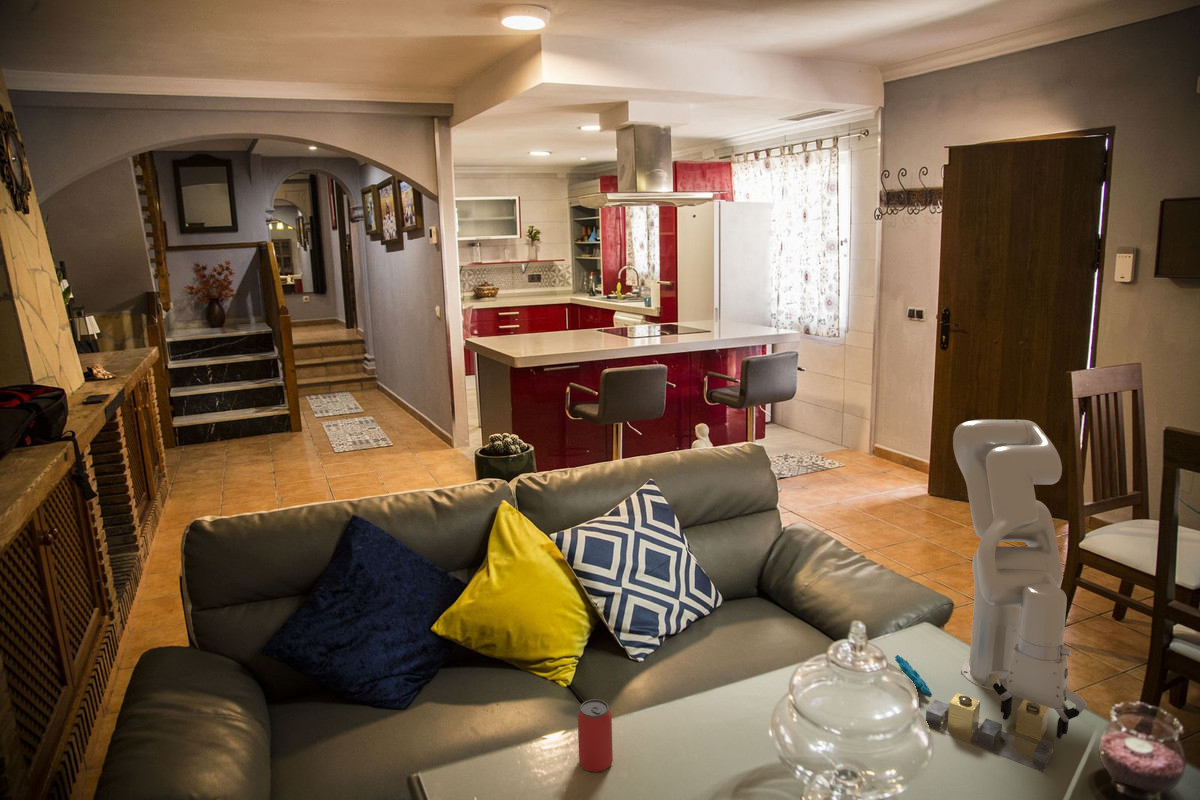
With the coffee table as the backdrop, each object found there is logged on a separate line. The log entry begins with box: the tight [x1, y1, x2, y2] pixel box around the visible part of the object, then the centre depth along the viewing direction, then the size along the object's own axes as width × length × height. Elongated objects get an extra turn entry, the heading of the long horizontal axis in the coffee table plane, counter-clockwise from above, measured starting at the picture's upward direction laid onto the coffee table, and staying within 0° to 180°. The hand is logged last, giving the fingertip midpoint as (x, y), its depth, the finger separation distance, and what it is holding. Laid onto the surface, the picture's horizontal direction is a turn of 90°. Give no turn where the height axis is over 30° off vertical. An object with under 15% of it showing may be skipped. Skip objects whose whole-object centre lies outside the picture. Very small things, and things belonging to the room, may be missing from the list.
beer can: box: [577, 698, 614, 773], centre depth 151 cm, size 7×7×12 cm
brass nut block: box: [1015, 699, 1050, 741], centre depth 156 cm, size 4×4×7 cm
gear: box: [894, 654, 932, 696], centre depth 173 cm, size 11×6×10 cm
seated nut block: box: [947, 692, 981, 738], centre depth 157 cm, size 4×4×7 cm
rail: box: [925, 699, 1054, 773], centre depth 155 cm, size 8×22×4 cm, turn 48°
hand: (1033, 725), depth 156 cm, fingers open, 9 cm apart
